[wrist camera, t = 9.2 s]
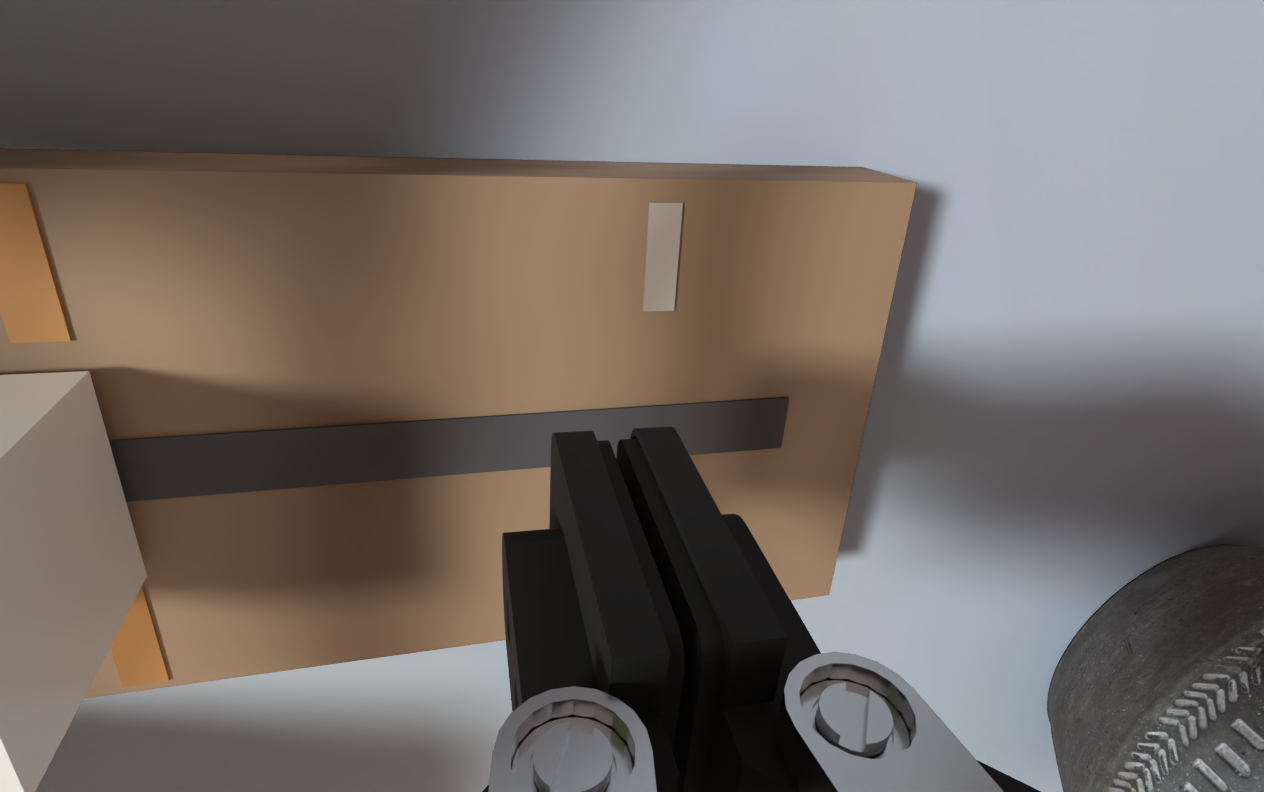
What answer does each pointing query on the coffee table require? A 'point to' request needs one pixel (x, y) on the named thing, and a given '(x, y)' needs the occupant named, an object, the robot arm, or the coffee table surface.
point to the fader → (56, 563)
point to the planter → (1168, 681)
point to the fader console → (431, 371)
